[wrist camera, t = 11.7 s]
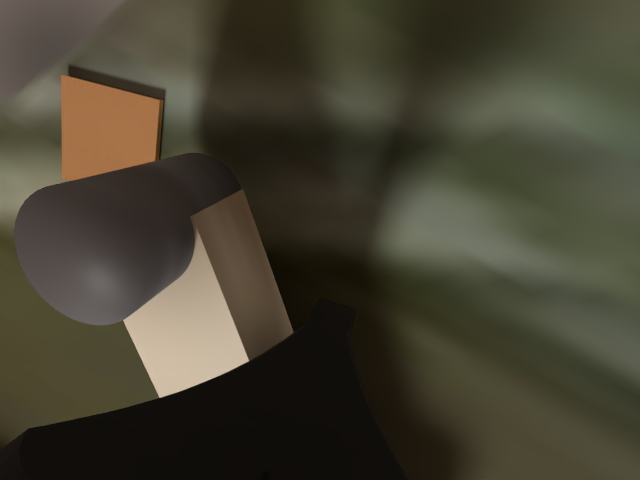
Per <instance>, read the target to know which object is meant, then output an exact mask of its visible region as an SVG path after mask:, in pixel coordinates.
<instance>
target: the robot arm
mask: <svg viewBox="0 0 640 480" xmlns="http://www.w3.org/2000/svg"><path fill="white" fill-rule="evenodd" d="M355 314H356V309H354V308H351V307H348V306H345V305H342V304H338V303H335V302H332V301H329V300H325V299H322V298H320V299H319V300H318V301H317V303H316V304H315V306H314V307H313V309H312V313H311V316H310V320H309V321H308V322H307V323H305V324H304V325H303V326H302V327H300V328H299V329H298V330H296V331H295V332H294V333H292V334H291V335H290V336H288V337H287V338H285V339H284V340H282V341H281V342H279V343H278V344H276V345H275V346H273V347H272V348H270V349H268V350H267V351H265V352H264V353H262V354H260V355H259V356H257V357H255V358H253V359H252V360H250V361H248V362H246V363H244V364H242V365H240V366H238V367H236V368H234V369H232V370H230V371H228V372H226V373H224V374H222V375H220V376H217V377H215V378H213V379H210V380H208V381H205V382H203V383H200V384H198V385H195V386H193V387H190V388H188V389H185V390H182V391H180V392H177V393H174V394H170V395H167V396H164V397H161V398H158V399H155V400H151V401H148V402H144V403H141V404H137V405H134V406H130V407H127V408H123V409H119V410H115V411H111V412H107V413H102V414H97V415H93V416H88V417H83V418H79V419H74V420H69V421H65V422H60V423H55V424H50V425H46V426H40V427H34V428H29V429H27V430H26V431H25V432H23V433H22V434H21V435H20V436H18V437H17V438H16V439H14V440H13V441H12V442H10V443H9V444H8V445H6V446H5V447H4V448H2V449H1V450H0V480H408V479H407V477H406V475H405V474H404V472H403V470H402V468H401V467H400V465H399V463H398V462H397V460H396V458H395V457H394V455H393V453H392V451H391V449H390V447H389V445H388V443H387V441H386V439H385V437H384V435H383V433H382V431H381V429H380V427H379V425H378V423H377V421H376V418H375V416H374V414H373V412H372V409H371V407H370V404H369V402H368V399H367V397H366V394H365V391H364V389H363V386H362V383H361V380H360V377H359V374H358V370H357V367H356V364H355V360H354V356H353V352H352V347H351V343H350V338H349V335H350V332H351V329H352V325H353V322H354V318H355Z"/></svg>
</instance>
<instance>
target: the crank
mask: <svg viewBox="0 0 640 480" xmlns="http://www.w3.org/2000/svg"><path fill="white" fill-rule="evenodd" d="M14 240H15V248H16V252H17V256H18V259H19V262H20V265H21V267H22V269H23V271H24V273H25V275H26V277H27V278H28V280H29V282H30V283H31V285H32V286H33V287H34V289H35V290H36V291H37V292H38V294H39V295H40V296H41V297H42V298H43V299H44V300H45V301H46V302H47V303H48V304H50V305H51V306H52V307H53V308H55V309H56V310H57V311H59V312H60V313H62V314H64V315H66V316H67V317H69V318H71V319H74V320H76V321H79V322H82V323H86V324H92V325H109V324H114V323H117V322H120V321H122V320H123V321H124V323H125V325H126V327H127V329H128V331H129V334H130V336H131V338H132V340H133V342H134V344H135V346H136V348H137V351H138V353H139V355H140V357H141V359H142V361H143V363H144V365H145V368H146V370H147V372H148V374H149V376H150V378H151V380H152V382H153V385H154V387H155V389H156V391H157V393H158V395H159V397H160V398H161V397H164V396H167V395H170V394H174V393H177V392H180V391H182V390H185V389H188V388H190V387H193V386H195V385H198V384H200V383H203V382H205V381H208V380H210V379H213V378H215V377H217V376H220V375H222V374H224V373H226V372H228V371H230V370H232V369H234V368H236V367H238V366H240V365H242V364H244V363H246V362H248V361H250V360H252V359H253V358H255V357H257V356H259V355H260V354H262V353H264V352H265V351H267V350H268V349H270V348H272V347H273V346H275V345H276V344H278V343H279V342H281V341H282V340H284V339H285V338H287V337H288V336H290V335H291V334H292V333H294V332H293V329H292V326H291V323H290V321H289V318H288V315H287V312H286V309H285V306H284V304H283V301H282V298H281V295H280V292H279V289H278V286H277V284H276V281H275V278H274V275H273V272H272V269H271V267H270V264H269V261H268V258H267V255H266V252H265V250H264V247H263V244H262V241H261V238H260V235H259V233H258V230H257V227H256V224H255V221H254V218H253V215H252V213H251V210H250V207H249V204H248V201H247V198H246V196H245V193H244V190H243V189H241V187H240V185H239V183H238V181H237V179H236V178H235V176H234V175H233V173H232V172H231V171H230V170H229V169H228V168H227V167H226V166H225V165H224V164H223V163H221V162H220V161H218V160H217V159H215V158H213V157H211V156H208V155H205V154H200V153H186V154H182V155H178V156H174V157H170V158H165V159H161V160H157V161H153V162H149V163H144V164H140V165H136V166H132V167H128V168H123V169H119V170H115V171H111V172H106V173H102V174H98V175H94V176H90V177H85V178H81V179H77V180H73V181H69V182H64V183H60V184H56V185H52V186H48V187H44V188H42V189H40V190H37V191H36V192H35V193H33V194H32V195H30V196H29V197H28V198H27V199H26V200H25V202H24V203H23V205H22V206H21V208H20V210H19V212H18V215H17V218H16V222H15V229H14Z"/></svg>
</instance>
